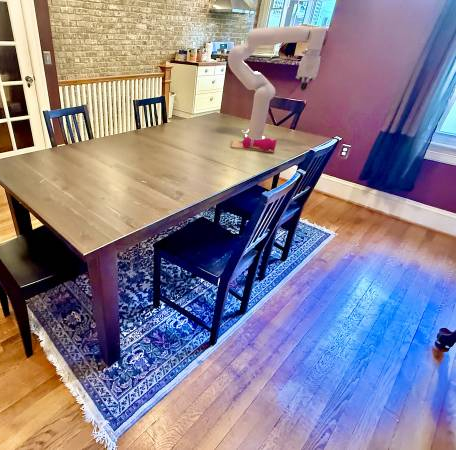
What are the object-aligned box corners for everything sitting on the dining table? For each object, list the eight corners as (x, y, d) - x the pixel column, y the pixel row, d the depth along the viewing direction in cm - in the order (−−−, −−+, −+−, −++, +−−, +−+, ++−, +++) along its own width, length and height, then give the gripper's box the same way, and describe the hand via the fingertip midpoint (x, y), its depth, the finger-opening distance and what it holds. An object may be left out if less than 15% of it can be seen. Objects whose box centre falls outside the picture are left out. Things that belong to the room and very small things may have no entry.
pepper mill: (275, 144, 170) (238, 140, 177) (273, 154, 176) (238, 150, 183) (277, 136, 174) (241, 132, 181) (275, 146, 179) (241, 142, 186)
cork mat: (231, 147, 182) (231, 146, 182) (233, 141, 194) (233, 140, 194) (273, 152, 177) (273, 151, 177) (272, 145, 189) (272, 144, 188)
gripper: (297, 53, 164) (289, 90, 173) (328, 54, 160) (317, 92, 169) (297, 52, 170) (288, 88, 179) (326, 54, 166) (316, 90, 175)
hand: (302, 90), depth 174 cm, fingers closed
